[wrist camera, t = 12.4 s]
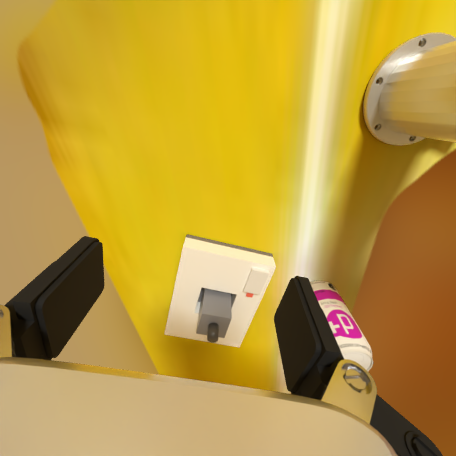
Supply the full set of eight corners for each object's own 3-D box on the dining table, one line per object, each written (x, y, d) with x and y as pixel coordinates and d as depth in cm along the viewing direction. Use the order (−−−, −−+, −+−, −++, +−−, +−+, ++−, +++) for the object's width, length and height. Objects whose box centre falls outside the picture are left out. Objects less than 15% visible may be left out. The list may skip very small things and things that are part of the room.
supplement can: (299, 277, 46) (329, 347, 32) (340, 279, 46) (386, 350, 33) (291, 306, 49) (314, 380, 36) (329, 309, 50) (366, 383, 36)
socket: (272, 253, 43) (276, 270, 39) (238, 331, 53) (239, 350, 49) (186, 234, 41) (182, 249, 37) (168, 318, 51) (163, 337, 47)
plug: (230, 285, 45) (231, 331, 36) (224, 303, 47) (224, 351, 38) (205, 280, 45) (200, 325, 35) (200, 299, 47) (194, 346, 38)
